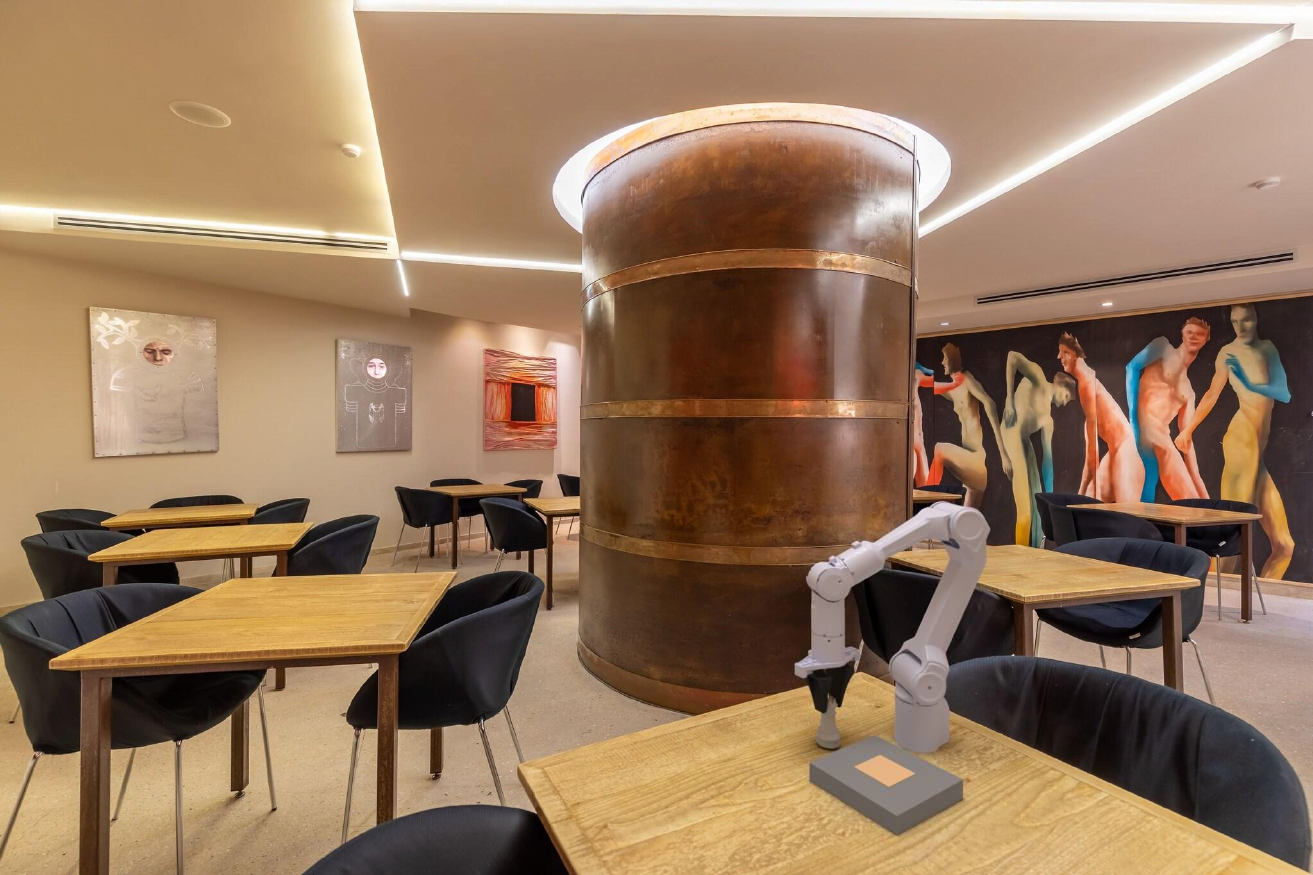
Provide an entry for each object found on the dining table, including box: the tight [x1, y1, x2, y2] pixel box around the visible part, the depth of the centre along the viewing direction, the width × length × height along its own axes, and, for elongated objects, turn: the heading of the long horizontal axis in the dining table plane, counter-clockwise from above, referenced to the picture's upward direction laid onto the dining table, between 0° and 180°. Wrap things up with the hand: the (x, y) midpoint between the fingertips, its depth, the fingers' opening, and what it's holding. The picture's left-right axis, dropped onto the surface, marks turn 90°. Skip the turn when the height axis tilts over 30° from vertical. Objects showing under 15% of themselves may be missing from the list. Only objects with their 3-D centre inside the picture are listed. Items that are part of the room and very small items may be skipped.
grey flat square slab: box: [808, 734, 964, 836], centre depth 95 cm, size 16×16×3 cm
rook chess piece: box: [814, 696, 842, 750], centre depth 108 cm, size 4×4×8 cm
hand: (828, 707), depth 108 cm, fingers closed on rook chess piece, 3 cm apart
